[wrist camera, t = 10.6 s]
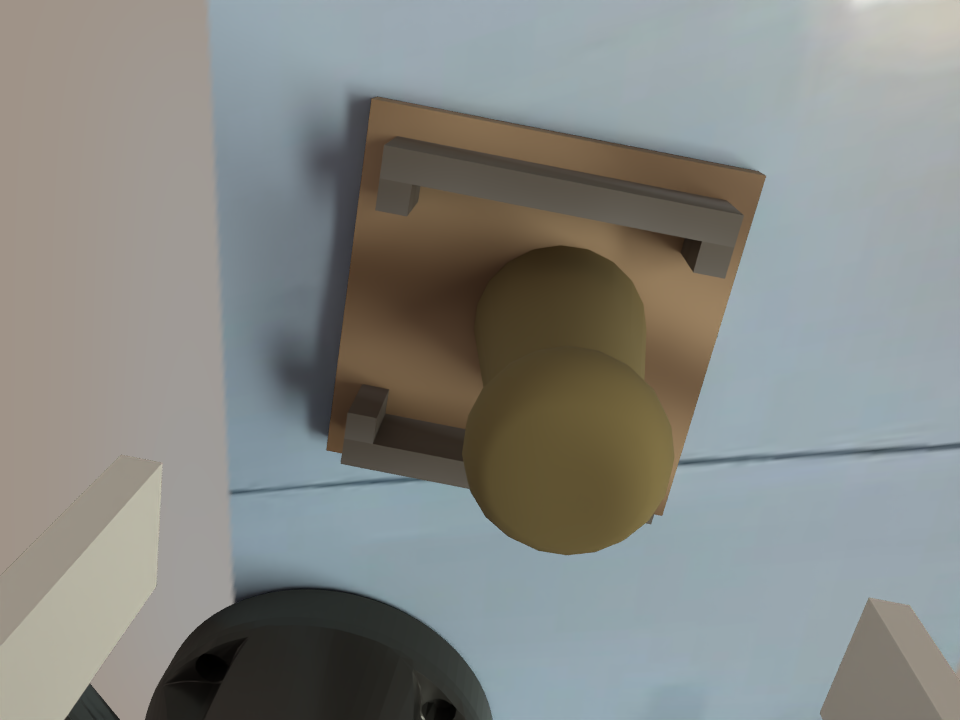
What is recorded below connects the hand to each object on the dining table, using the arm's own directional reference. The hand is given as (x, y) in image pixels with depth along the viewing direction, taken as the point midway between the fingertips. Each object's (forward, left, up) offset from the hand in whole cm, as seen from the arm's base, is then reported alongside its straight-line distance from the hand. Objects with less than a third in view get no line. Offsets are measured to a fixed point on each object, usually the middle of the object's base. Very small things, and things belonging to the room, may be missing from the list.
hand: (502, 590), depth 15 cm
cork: (0, -1, -15) cm, 15 cm away
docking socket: (0, 0, -16) cm, 16 cm away
